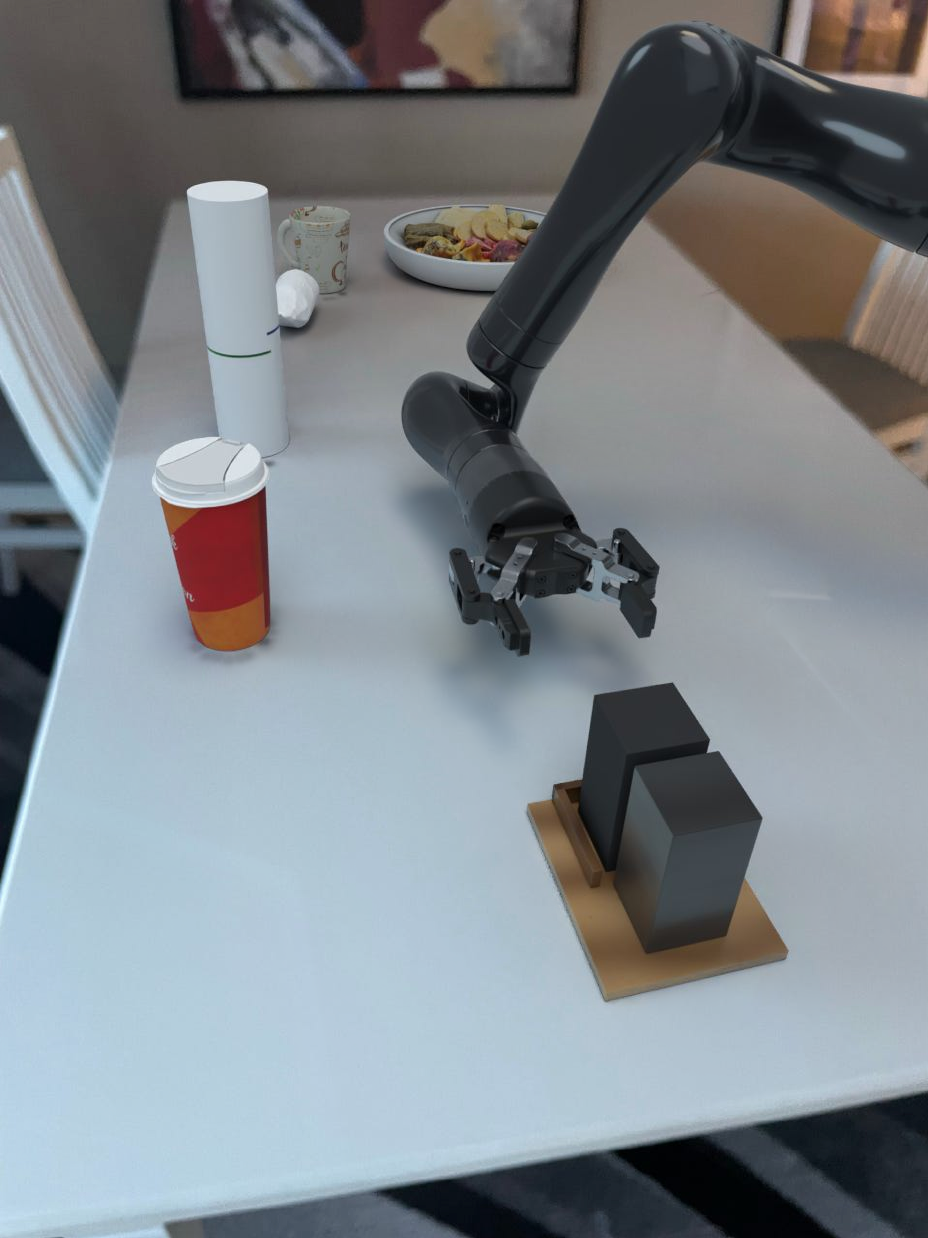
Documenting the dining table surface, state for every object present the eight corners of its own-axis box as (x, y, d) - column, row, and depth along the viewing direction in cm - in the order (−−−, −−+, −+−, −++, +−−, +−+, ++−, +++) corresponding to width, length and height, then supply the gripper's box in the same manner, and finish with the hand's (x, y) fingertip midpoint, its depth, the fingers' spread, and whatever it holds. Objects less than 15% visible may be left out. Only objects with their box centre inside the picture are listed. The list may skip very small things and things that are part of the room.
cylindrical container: (302, 435, 106) (283, 187, 91) (264, 464, 101) (237, 205, 86) (245, 421, 109) (218, 176, 93) (206, 448, 103) (170, 194, 88)
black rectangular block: (577, 811, 64) (593, 694, 58) (649, 798, 65) (673, 681, 59) (605, 872, 60) (626, 754, 54) (681, 857, 61) (710, 739, 55)
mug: (329, 300, 139) (325, 226, 133) (259, 282, 144) (252, 210, 138) (364, 284, 145) (362, 212, 139) (296, 267, 150) (291, 197, 144)
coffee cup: (216, 588, 84) (192, 424, 75) (303, 611, 81) (289, 446, 72) (157, 645, 77) (122, 474, 68) (249, 672, 75) (226, 499, 66)
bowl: (343, 260, 153) (341, 207, 148) (480, 224, 170) (482, 175, 165) (485, 314, 136) (487, 256, 131) (620, 268, 153) (626, 215, 149)
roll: (260, 341, 126) (256, 297, 123) (277, 308, 136) (273, 266, 133) (307, 343, 126) (304, 299, 123) (321, 309, 136) (318, 268, 133)
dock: (526, 811, 65) (538, 686, 58) (681, 783, 67) (709, 659, 61) (605, 1001, 54) (630, 874, 48) (786, 959, 57) (834, 832, 50)
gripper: (424, 478, 74) (485, 605, 61) (604, 459, 77) (696, 575, 65) (424, 563, 78) (481, 696, 66) (594, 541, 82) (678, 664, 69)
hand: (587, 636), depth 65 cm, fingers open, 8 cm apart
